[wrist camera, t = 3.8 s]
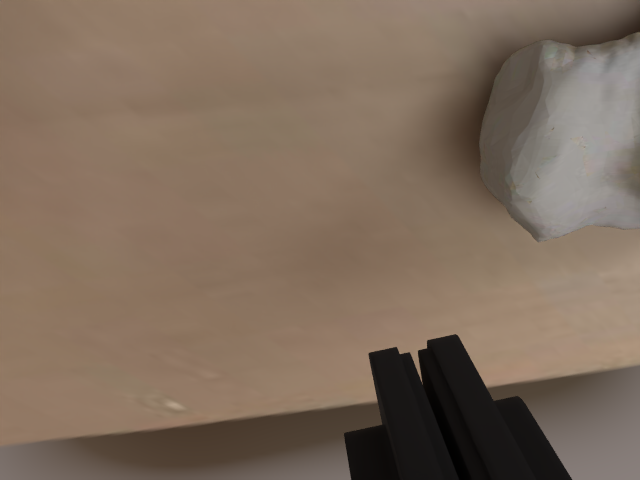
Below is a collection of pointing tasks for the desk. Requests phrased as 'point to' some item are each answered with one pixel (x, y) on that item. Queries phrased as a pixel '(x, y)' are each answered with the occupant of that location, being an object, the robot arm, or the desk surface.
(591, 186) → the ceramic sculpture
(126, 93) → the desk surface
